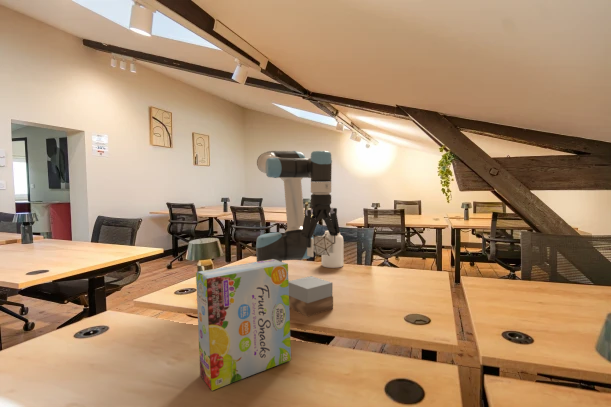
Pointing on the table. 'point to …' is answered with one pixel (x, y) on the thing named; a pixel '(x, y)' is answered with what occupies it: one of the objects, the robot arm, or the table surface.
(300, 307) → the tower base
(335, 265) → the white plastic jar
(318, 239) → the game die
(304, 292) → the tower top
